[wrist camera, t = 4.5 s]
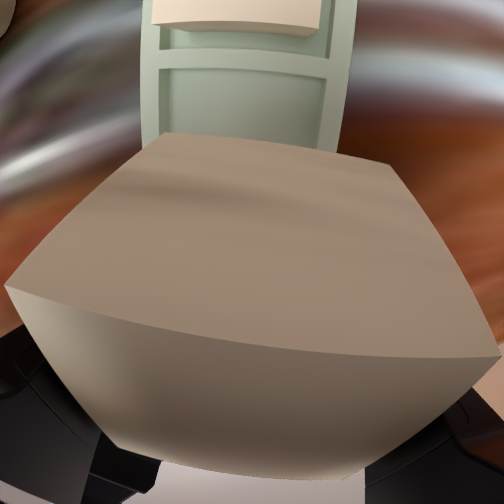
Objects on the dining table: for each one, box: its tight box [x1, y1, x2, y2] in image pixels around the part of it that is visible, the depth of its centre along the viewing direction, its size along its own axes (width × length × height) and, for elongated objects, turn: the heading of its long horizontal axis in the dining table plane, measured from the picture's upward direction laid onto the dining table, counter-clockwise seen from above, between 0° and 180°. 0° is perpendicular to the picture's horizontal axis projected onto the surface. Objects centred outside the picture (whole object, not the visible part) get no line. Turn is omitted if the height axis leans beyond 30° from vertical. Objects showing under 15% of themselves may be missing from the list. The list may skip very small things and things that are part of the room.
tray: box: [140, 0, 357, 153], centre depth 12 cm, size 19×10×6 cm, turn 176°
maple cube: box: [4, 132, 502, 480], centre depth 7 cm, size 6×6×6 cm
